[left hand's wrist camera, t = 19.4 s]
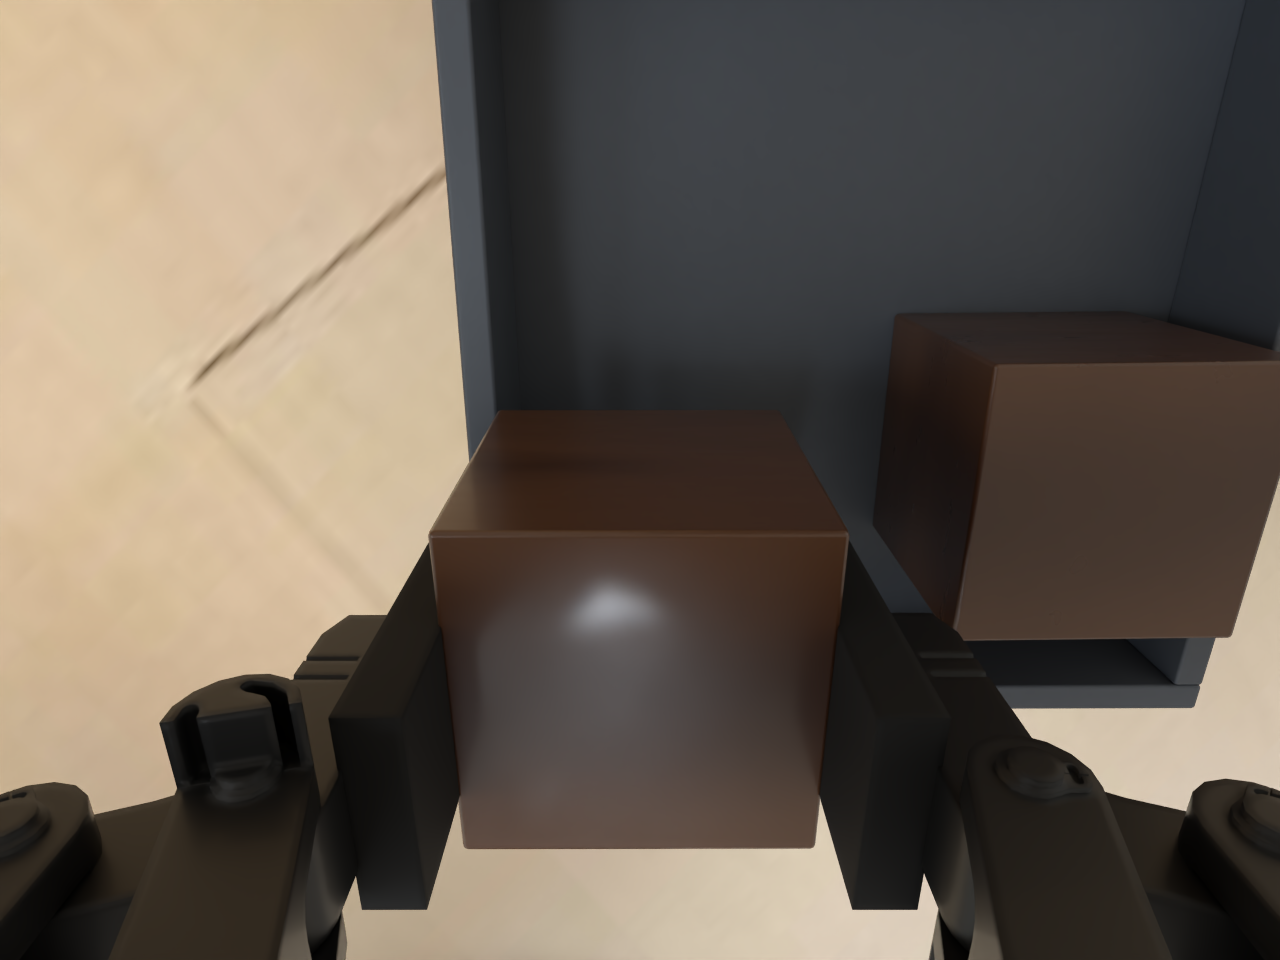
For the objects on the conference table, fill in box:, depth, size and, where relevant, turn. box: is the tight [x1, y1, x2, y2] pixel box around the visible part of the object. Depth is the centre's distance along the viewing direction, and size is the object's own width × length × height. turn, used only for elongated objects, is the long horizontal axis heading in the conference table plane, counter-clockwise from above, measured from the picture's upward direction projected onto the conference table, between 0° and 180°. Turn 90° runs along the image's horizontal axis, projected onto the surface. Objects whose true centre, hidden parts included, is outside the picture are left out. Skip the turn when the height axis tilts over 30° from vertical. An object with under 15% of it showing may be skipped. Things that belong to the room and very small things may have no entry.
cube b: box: [428, 410, 850, 849], centre depth 12 cm, size 5×5×5 cm
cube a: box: [873, 311, 1280, 641], centre depth 15 cm, size 5×5×5 cm
